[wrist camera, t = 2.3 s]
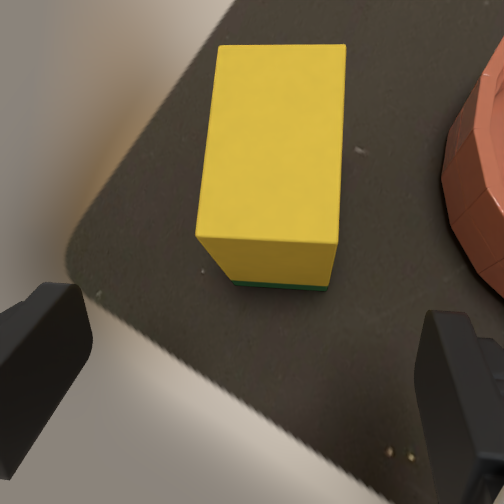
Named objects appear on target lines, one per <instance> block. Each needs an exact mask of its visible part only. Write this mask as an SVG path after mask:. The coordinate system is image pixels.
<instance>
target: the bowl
mask: <svg viewBox="0 0 504 504" xmlns="http://www.w3.org/2000/svg"><path fill="white" fill-rule="evenodd" d="M441 176H442V177H441V180H442V185H443V190H444V195H445V200H446V205H447V210H448V215H449V220H450V225H451V228H452V229H453V231H454V233H455V235H456V236H457V238H458V240H459V242H460V243H461V245H462V247H463V249H464V250H465V252H466V254H467V256H468V257H469V259H470V261H471V263H472V264H473V266H474V268H475V270H476V271H477V273H479V275H480V276H481V277H482V278H483V279H484V280H485V281H486V282H487V283H488V284H489V285H490V286H491V287H492V288H493V289H494V290H495V291H496V292H497V293H499V294H500V295H501V296H502V297H503V298H504V36H503V38H502V39H501V41H500V43H499V45H498V46H497V48H496V50H495V52H494V53H493V55H492V57H491V58H490V60H489V62H488V64H487V65H486V67H485V69H484V71H483V72H482V74H481V76H480V78H479V79H478V81H477V83H476V85H475V86H474V88H473V90H472V91H471V93H470V95H469V97H468V98H467V100H466V102H465V104H464V105H463V107H462V109H461V111H460V112H459V114H458V116H457V118H456V119H455V121H454V123H453V125H452V126H451V128H450V130H449V132H448V138H447V144H446V150H445V157H444V163H443V169H442V175H441Z"/></svg>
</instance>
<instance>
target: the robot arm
mask: <svg viewBox="0 0 504 504" xmlns="http://www.w3.org/2000/svg"><path fill="white" fill-rule="evenodd" d="M92 343H93V336H92V331H91V327H90V323H89V319H88V315H87V311H86V307H85V303H84V299H83V295H82V291H81V289H80V287H79V286H78V285H76V284H66V283H52V282H45V283H42V284H41V285H39V286H38V287H37V289H36V290H35V291H34V292H33V293H32V294H31V295H30V296H29V297H28V298H27V299H26V300H25V301H21V302H19V303H17V304H15V305H14V306H13V307H10V308H9V309H7V310H5V311H4V312H2V313H0V479H4V480H10V479H11V478H12V476H13V474H14V473H15V472H16V470H17V468H18V467H19V465H20V464H21V462H22V461H23V459H24V457H25V456H26V454H27V453H28V451H29V450H30V448H31V447H32V445H33V443H34V442H35V441H36V439H37V437H38V436H39V434H40V433H41V431H42V430H43V428H44V427H45V425H46V424H47V422H48V420H49V419H50V417H51V416H52V414H53V413H54V411H55V410H56V408H57V406H58V405H59V403H60V402H61V400H62V399H63V397H64V396H65V394H66V393H67V391H68V390H69V388H70V386H71V385H72V383H73V382H74V380H75V379H76V377H77V375H78V374H79V373H80V371H81V369H82V368H83V366H84V365H85V363H86V361H87V360H88V358H89V356H90V353H91V349H92ZM414 384H415V392H416V397H417V402H418V407H419V411H420V416H421V421H422V426H423V431H424V436H425V440H426V445H427V450H428V455H429V460H430V464H431V469H432V474H433V479H434V484H435V488H436V493H437V498H438V503H439V504H504V349H503V348H502V347H501V346H500V345H499V344H498V343H497V342H496V341H494V340H493V339H492V338H479V337H477V336H476V333H475V331H474V328H473V326H472V324H471V321H470V319H469V317H468V315H467V314H466V313H465V312H451V311H437V310H428V311H427V313H426V316H425V319H424V324H423V329H422V334H421V338H420V343H419V348H418V352H417V357H416V362H415V370H414Z"/></svg>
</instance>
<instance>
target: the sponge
mask: <svg viewBox="0 0 504 504" xmlns="http://www.w3.org/2000/svg"><path fill="white" fill-rule="evenodd" d="M345 68H346V45H344V44H341V45H220V46H219V47H218V54H217V62H216V70H215V78H214V86H213V94H212V102H211V110H210V118H209V126H208V134H207V142H206V151H205V159H204V167H203V175H202V183H201V191H200V199H199V207H198V215H197V223H196V231H195V236H196V238H197V239H198V240H199V241H200V243H201V244H202V245H203V246H204V248H205V249H206V250H207V251H208V253H209V254H210V255H211V256H212V258H213V259H214V260H215V261H216V263H217V264H218V265H219V266H220V268H221V269H222V270H223V271H224V272H225V274H226V275H227V276H228V277H229V279H230V280H231V281H232V282H233V284H234V285H239V286H254V287H270V288H285V289H300V290H316V291H327V289H328V285H329V281H330V276H331V272H332V267H333V263H334V258H335V254H336V250H337V245H338V236H339V212H340V188H341V164H342V140H343V116H344V92H345Z"/></svg>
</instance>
